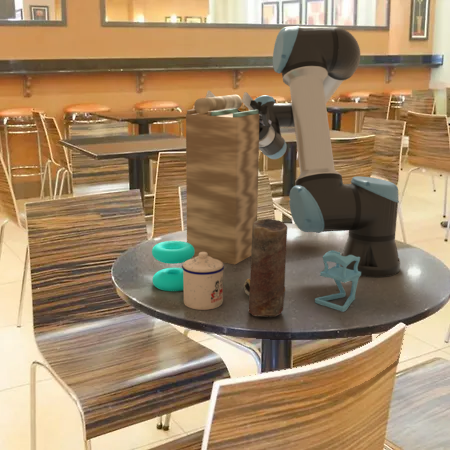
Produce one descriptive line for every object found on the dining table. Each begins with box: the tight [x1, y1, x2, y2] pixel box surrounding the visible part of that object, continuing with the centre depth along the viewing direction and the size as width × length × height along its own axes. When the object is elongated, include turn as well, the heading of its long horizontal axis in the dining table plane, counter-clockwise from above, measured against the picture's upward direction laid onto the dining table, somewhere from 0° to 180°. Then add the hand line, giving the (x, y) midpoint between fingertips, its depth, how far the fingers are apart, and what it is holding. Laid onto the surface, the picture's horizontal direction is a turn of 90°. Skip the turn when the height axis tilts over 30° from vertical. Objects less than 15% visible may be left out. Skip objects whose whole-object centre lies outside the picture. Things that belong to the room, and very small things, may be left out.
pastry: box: [243, 278, 286, 296], centre depth 151 cm, size 9×7×4 cm
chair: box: [314, 249, 362, 312], centre depth 144 cm, size 8×8×12 cm
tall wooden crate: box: [185, 108, 260, 265], centre depth 174 cm, size 12×15×39 cm
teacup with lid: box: [181, 252, 225, 311], centre depth 145 cm, size 12×9×12 cm
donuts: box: [151, 240, 195, 292], centre depth 154 cm, size 10×10×10 cm
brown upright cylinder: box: [248, 218, 288, 318], centre depth 136 cm, size 8×7×20 cm
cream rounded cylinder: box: [193, 94, 243, 114], centre depth 175 cm, size 18×4×4 cm, turn 149°
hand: (225, 95), depth 176 cm, fingers open, 11 cm apart
